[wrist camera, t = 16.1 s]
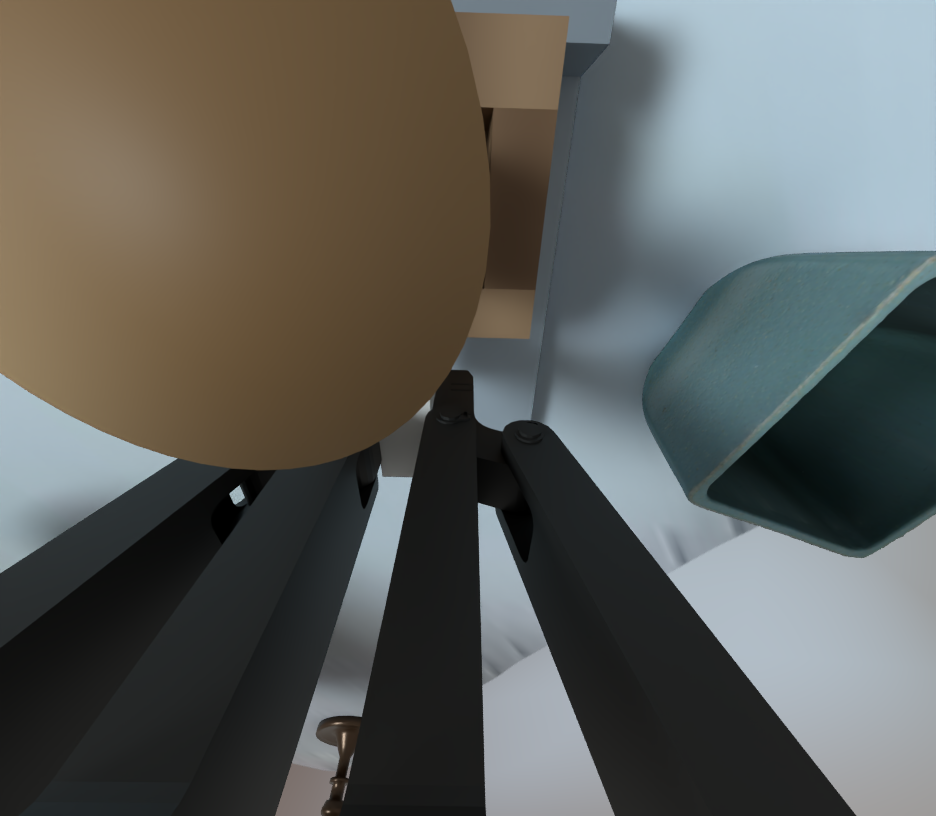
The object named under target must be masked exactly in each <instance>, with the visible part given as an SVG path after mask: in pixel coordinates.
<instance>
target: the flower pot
mask: <svg viewBox="0 0 936 816" xmlns="http://www.w3.org/2000/svg"><path fill="white" fill-rule="evenodd" d="M642 402H643V411H644V415H645V419H646V422H647V424H648V426H649V428H650V430H651V432H652V434H653V436H654V438H655V440H656V442H657V444H658V446H659V448H660V449H661V451H662V453H663V455H664V457H665V459H666V460H667V462H668V464H669V466H670V468H671V469H672V471H673V473H674V475H675V476H676V478H677V480H678V482H679V483H680V485H681V487H682V489H683V491H684V493H685V495H686V496H687V498H688V500H689V501H690V502H691V503H693V504H694V505H697V506H699V507H701V508H704V509H706V510H710V511H713V512H716V513H719V514H723V515H725V516H729V517H732V518H735V519H738V520H741V521H745V522H748V523H750V524H754V525H758V526H761V527H763V528H766V529H769V530H772V531H775V532H779V533H782V534H784V535H788V536H790V537H792V538H795V539H798V540H801V541H804V542H806V543H809V544H811V545H815V546H818V547H820V548H823V549H826V550H829V551H832V552H835V553H837V554H841V555H843V556H848V557H856V558H864V557H867V556H869V555H871V554H873V553H874V552H876V551H878V550H879V549H881V548H884V547H885V546H887V545H888V544H889V543H891V542H893V541H895V540H896V539H898V538H900V537H903V536H904V535H905V534H906V533H907V532H909V531H911V530H913V529H914V528H916V527H917V526H919V525H920V524H921V523H923V522H924V521H925V520H927V519H929V518H930V517H931V516H933V515H935V514H936V251H886V252H835V253H803V254H789V255H781V256H775V257H770V258H766V259H762V260H759V261H756V262H753V263H750V264H748V265H745V266H743V267H741V268H739V269H737V270H735V271H733V272H731V273H730V274H728V275H727V276H725V277H724V278H722V279H721V280H719V281H718V282H717V283H715V284H714V285H713V286H711V287H710V288H709V289H708V290H707V291H706V292H705V293H704V294H703V296H702V297H701V298H700V300H699V301H698V303H697V304H696V305H695V307H694V308H693V310H692V311H691V312H690V314H689V315H688V316H687V318H686V319H685V320H684V322H683V323H682V325H681V326H680V327H679V329H678V330H677V331H676V333H675V334H674V335H673V337H672V338H671V339H670V341H669V342H668V343H667V345H666V346H665V347H664V349H663V350H662V352H661V353H660V354H659V355H658V357H657V358H656V359H655V361H654V362H653V363H652V365H651V367H650V369H649V372H648V374H647V377H646V380H645V384H644V388H643V398H642Z"/></svg>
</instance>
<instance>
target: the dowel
mask: <svg viewBox="0 0 936 816" xmlns="http://www.w3.org/2000/svg"><path fill="white" fill-rule="evenodd" d="M489 236H490V172H489V163H488V155H487V147H486V138H485V130H484V122H483V115H482V110H481V106H480V102H479V97H478V93H477V88H476V84H475V80H474V75H473V71H472V66H471V62H470V58H469V53H468V49H467V46H466V43H465V40H464V37H463V34H462V31H461V29H460V26H459V23H458V20H457V17H456V14H455V11H454V8H453V5H452V2H451V0H0V373H1V374H3V375H4V376H6V377H7V378H9V379H10V380H12V381H13V382H15V383H16V384H18V385H19V386H21V387H22V388H24V389H25V390H27V391H28V392H30V393H31V394H33V395H35V396H37V397H38V398H40V399H42V400H44V401H45V402H47V403H49V404H50V405H52V406H54V407H56V408H57V409H59V410H61V411H62V412H64V413H66V414H68V415H70V416H72V417H74V418H76V419H78V420H80V421H82V422H84V423H86V424H88V425H90V426H92V427H94V428H96V429H98V430H100V431H103V432H105V433H107V434H110V435H112V436H115V437H117V438H120V439H122V440H124V441H127V442H129V443H132V444H134V445H137V446H140V447H143V448H146V449H149V450H152V451H155V452H158V453H161V454H164V455H167V456H171V457H175V458H179V459H183V460H187V461H191V462H196V463H200V464H206V465H212V466H219V467H225V468H232V469H248V470H283V469H294V468H301V467H308V466H315V465H319V464H323V463H327V462H331V461H334V460H338V459H342V458H344V457H347V456H349V455H352V454H354V453H357V452H359V451H362V450H364V449H366V448H368V447H370V446H372V445H373V444H375V443H377V442H379V441H381V440H382V439H384V438H386V437H388V436H389V435H391V434H392V433H393V432H395V431H396V430H397V429H398V428H400V427H401V426H402V425H404V424H405V423H406V422H408V421H409V420H410V419H411V418H412V417H413V416H414V415H415V414H416V413H417V412H418V411H419V410H420V409H421V408H422V407H423V406H424V405H425V404H426V403H427V402H428V401H429V400H430V399H431V398H432V396H433V395H434V394H435V392H436V391H437V389H438V388H439V387H440V385H441V384H442V383H443V381H444V380H445V379H446V377H447V376H448V374H449V373H450V371H451V369H452V367H453V365H454V363H455V361H456V360H457V358H458V356H459V354H460V352H461V350H462V348H463V347H464V344H465V342H466V339H467V336H468V334H469V331H470V328H471V325H472V323H473V320H474V317H475V315H476V312H477V308H478V304H479V299H480V295H481V291H482V286H483V282H484V278H485V273H486V265H487V255H488V246H489Z"/></svg>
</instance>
